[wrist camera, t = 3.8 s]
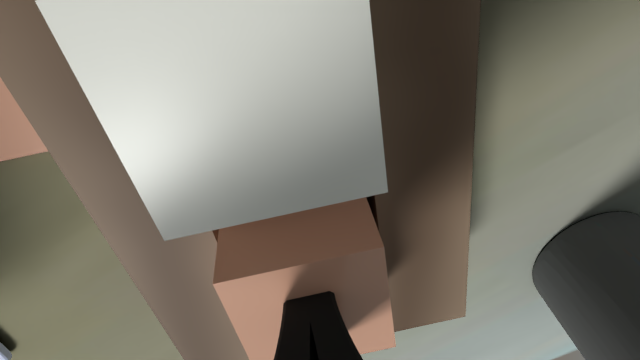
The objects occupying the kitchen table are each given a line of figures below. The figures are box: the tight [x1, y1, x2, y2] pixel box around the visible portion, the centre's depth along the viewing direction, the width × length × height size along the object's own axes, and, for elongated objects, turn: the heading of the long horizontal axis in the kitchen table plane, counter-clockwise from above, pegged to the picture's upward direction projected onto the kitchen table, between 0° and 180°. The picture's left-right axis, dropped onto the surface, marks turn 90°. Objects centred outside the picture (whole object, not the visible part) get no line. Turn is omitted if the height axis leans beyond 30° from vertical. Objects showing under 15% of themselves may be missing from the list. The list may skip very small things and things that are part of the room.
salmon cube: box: [213, 197, 396, 360], centre depth 13 cm, size 4×4×4 cm
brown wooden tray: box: [0, 0, 481, 360], centre depth 11 cm, size 11×24×3 cm, turn 10°
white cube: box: [35, 0, 388, 241], centre depth 8 cm, size 4×4×4 cm
